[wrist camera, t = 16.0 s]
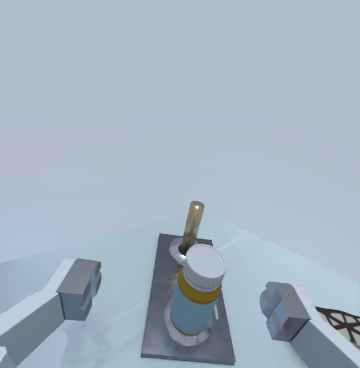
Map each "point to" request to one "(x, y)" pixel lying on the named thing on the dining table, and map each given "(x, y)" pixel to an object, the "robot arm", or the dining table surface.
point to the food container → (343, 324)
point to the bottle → (197, 289)
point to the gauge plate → (162, 298)
